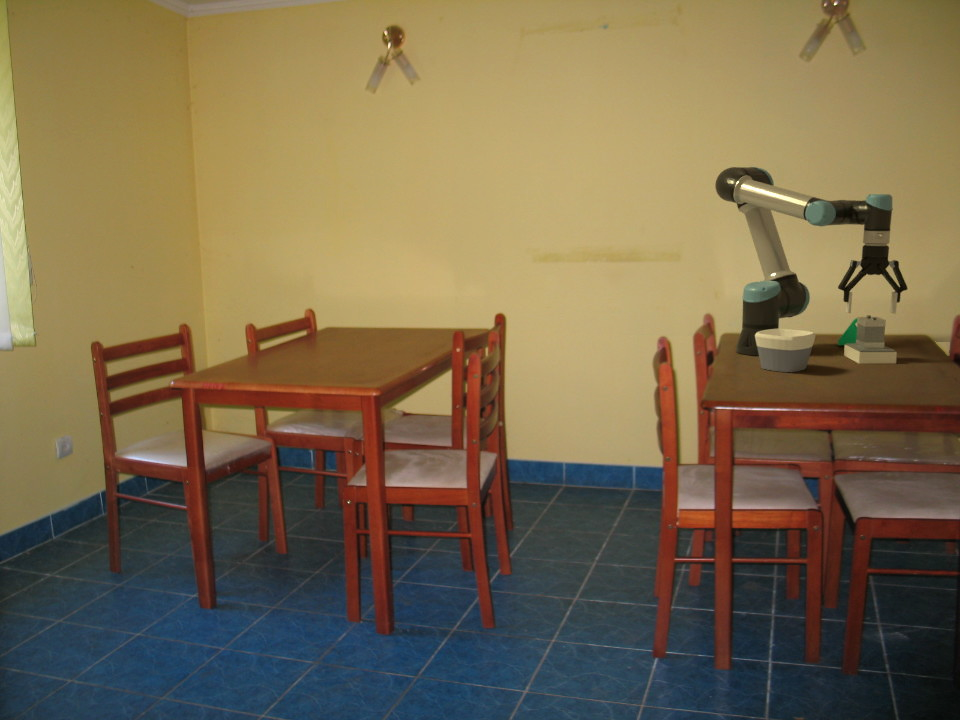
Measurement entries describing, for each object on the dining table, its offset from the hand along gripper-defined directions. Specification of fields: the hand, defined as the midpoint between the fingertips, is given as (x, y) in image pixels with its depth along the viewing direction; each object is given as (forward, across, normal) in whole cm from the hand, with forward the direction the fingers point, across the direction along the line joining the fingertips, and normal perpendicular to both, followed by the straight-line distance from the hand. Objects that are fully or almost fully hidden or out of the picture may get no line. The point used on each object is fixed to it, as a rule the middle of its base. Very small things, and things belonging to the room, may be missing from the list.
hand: (870, 312), depth 281 cm
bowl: (+15, -30, -16) cm, 37 cm away
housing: (+11, 0, 0) cm, 11 cm away
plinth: (+15, 0, -1) cm, 15 cm away
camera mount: (+16, +5, +24) cm, 29 cm away
